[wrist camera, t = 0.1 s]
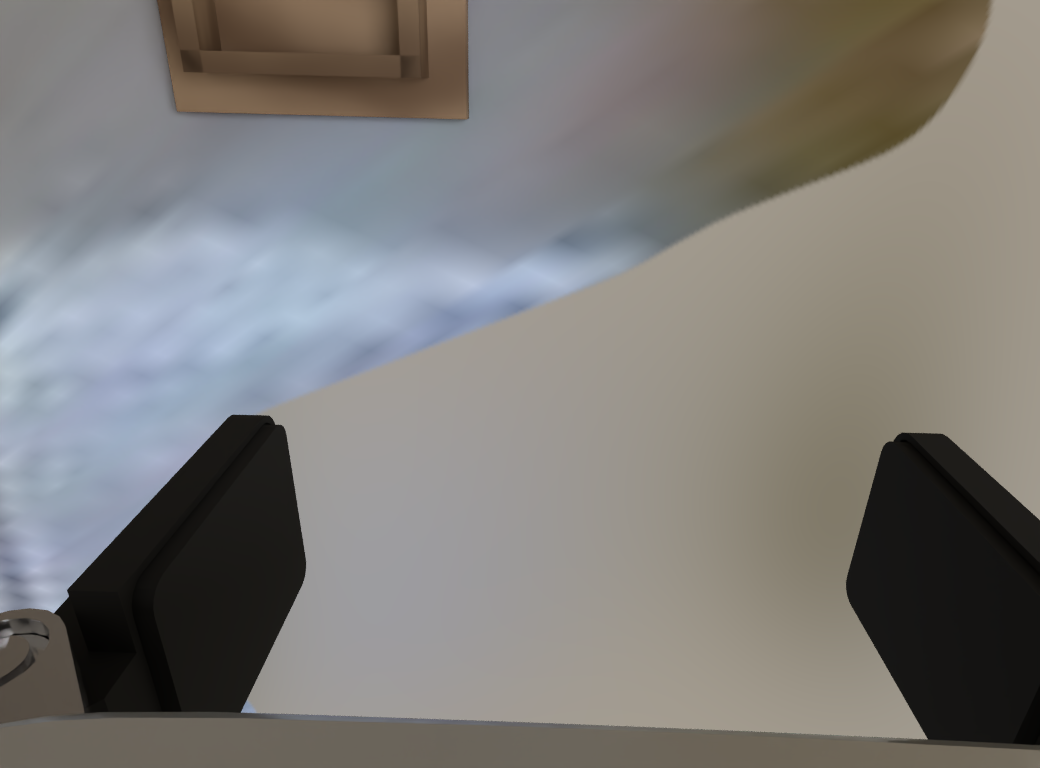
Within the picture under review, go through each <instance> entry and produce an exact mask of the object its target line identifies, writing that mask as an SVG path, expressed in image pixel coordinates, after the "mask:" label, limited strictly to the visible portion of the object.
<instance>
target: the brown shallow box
mask: <svg viewBox="0 0 1040 768" xmlns="http://www.w3.org/2000/svg"><path fill="white" fill-rule="evenodd" d="M157 2H158V7H159V13H160V18H161V24H162V30H163V35H164V41H165V46H166V52H167V58H168V63H169V69H170V74H171V80H172V86H173V91H174V97H175V102H176V108H177V111H179V112H216V113H253V114H290V115H327V116H364V117H401V118H439V119H468V118H469V92H468V0H157Z"/></svg>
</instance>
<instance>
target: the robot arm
mask: <svg viewBox="0 0 1040 768" xmlns="http://www.w3.org/2000/svg"><path fill="white" fill-rule="evenodd" d="M305 571H306V558H305V552H304V545H303V539H302V532H301V526H300V520H299V513H298V507H297V500H296V494H295V487H294V481H293V475H292V468H291V462H290V455H289V449H288V442H287V436H286V431H285V429H284V427H283V426H282V425H275V423H274V421H273V419H272V418H271V417H270V416H261V415H231V416H230V417H228V418H227V419H226V421H225V422H224V423H223V424H222V425H221V426H220V427H219V428H218V429H217V430H216V431H215V432H214V433H213V434H212V435H211V437H210V438H209V439H208V440H207V441H206V442H205V443H204V444H203V445H202V446H201V447H200V448H199V449H198V450H197V452H196V453H195V454H194V455H193V456H192V457H191V458H190V459H189V460H188V461H187V462H186V463H185V464H184V465H183V467H182V468H181V469H180V470H179V471H178V472H177V473H176V474H175V475H174V476H173V477H172V478H171V479H170V480H169V482H168V483H167V484H166V485H165V486H164V487H163V488H162V489H161V490H160V491H159V492H158V493H157V494H156V495H155V496H154V498H153V499H152V500H151V501H150V502H149V503H148V504H147V505H146V506H145V507H144V508H143V509H142V510H141V511H140V513H139V514H138V515H137V516H136V517H135V518H134V519H133V520H132V521H131V522H130V523H129V524H128V525H127V526H126V528H125V529H124V530H123V531H122V532H121V533H120V534H119V535H118V536H117V537H116V538H115V539H114V540H113V541H112V542H111V544H110V545H109V546H108V547H107V548H106V549H105V550H104V551H103V552H102V553H101V554H100V555H99V556H98V557H97V559H96V560H95V561H94V562H93V563H92V564H91V565H90V566H89V567H88V568H87V569H86V570H85V571H84V572H83V574H82V575H81V576H80V577H79V578H78V579H77V580H76V581H75V582H74V583H73V584H72V585H71V586H70V587H69V589H68V590H67V592H68V594H69V597H68V598H67V600H66V601H65V602H64V603H63V604H62V605H61V606H60V607H59V608H58V609H57V610H56V612H55V613H52V612H50V611H48V610H40V609H30V608H29V609H21V610H12V611H7V612H3V613H0V768H1040V520H1039V519H1038V518H1037V517H1036V516H1035V515H1033V514H1032V513H1031V512H1030V511H1029V510H1028V509H1027V508H1026V507H1024V506H1023V505H1022V504H1021V503H1020V502H1019V501H1018V500H1017V499H1016V498H1015V497H1013V496H1012V495H1011V494H1010V493H1009V492H1008V491H1007V490H1006V489H1005V488H1004V487H1002V486H1001V485H1000V484H999V483H998V482H997V481H996V480H995V479H994V478H992V477H991V476H990V475H989V474H988V473H987V472H986V471H984V469H983V468H981V467H980V466H979V465H978V464H977V463H976V462H975V461H974V460H973V459H971V458H970V457H969V456H968V455H967V454H966V453H965V452H964V451H963V450H961V449H960V448H959V447H958V446H957V445H956V444H955V443H954V442H953V441H952V440H950V439H949V438H948V437H947V436H945V435H943V434H931V433H929V434H928V433H901V434H899V435H898V436H897V437H896V438H895V440H894V442H887V443H886V444H885V445H884V447H883V449H882V451H881V455H880V458H879V462H878V466H877V469H876V473H875V477H874V480H873V484H872V488H871V491H870V495H869V499H868V502H867V506H866V510H865V514H864V517H863V521H862V524H861V528H860V532H859V535H858V539H857V543H856V546H855V550H854V553H853V557H852V561H851V564H850V568H849V572H848V575H847V580H846V590H847V596H848V599H849V602H850V604H851V606H852V608H853V609H854V611H855V613H856V614H857V616H858V618H859V620H860V621H861V623H862V625H863V627H864V628H865V630H866V632H867V634H868V635H869V637H870V639H871V641H872V642H873V644H874V646H875V648H876V649H877V651H878V653H879V655H880V656H881V658H882V660H883V661H884V663H885V665H886V667H887V668H888V670H889V672H890V674H891V676H892V677H893V679H894V681H895V683H896V684H897V686H898V688H899V689H900V691H901V693H902V694H903V696H904V698H905V700H906V702H907V703H908V705H909V707H910V709H911V710H912V712H913V714H914V716H915V717H916V719H917V721H918V723H919V724H920V726H921V728H922V730H923V731H924V733H925V735H926V736H927V738H928V740H926V739H925V740H924V739H904V738H882V737H860V736H839V735H817V734H796V733H774V732H752V731H751V732H750V731H728V730H703V729H678V728H655V727H631V726H630V727H629V726H604V725H580V724H579V725H578V724H553V723H529V722H528V723H527V722H503V721H501V722H500V721H474V720H444V719H416V718H415V719H413V718H387V717H358V716H357V717H356V716H329V715H299V714H266V713H241V711H242V709H243V706H244V704H245V702H246V700H247V698H248V696H249V694H250V692H251V690H252V688H253V686H254V684H255V681H256V679H257V677H258V675H259V673H260V671H261V669H262V667H263V665H264V663H265V661H266V659H267V657H268V655H269V653H270V650H271V648H272V646H273V644H274V642H275V640H276V638H277V636H278V634H279V632H280V630H281V628H282V626H283V624H284V621H285V619H286V617H287V615H288V613H289V611H290V609H291V607H292V605H293V603H294V601H295V599H296V597H297V594H298V592H299V590H300V588H301V586H302V584H303V581H304V577H305Z"/></svg>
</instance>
